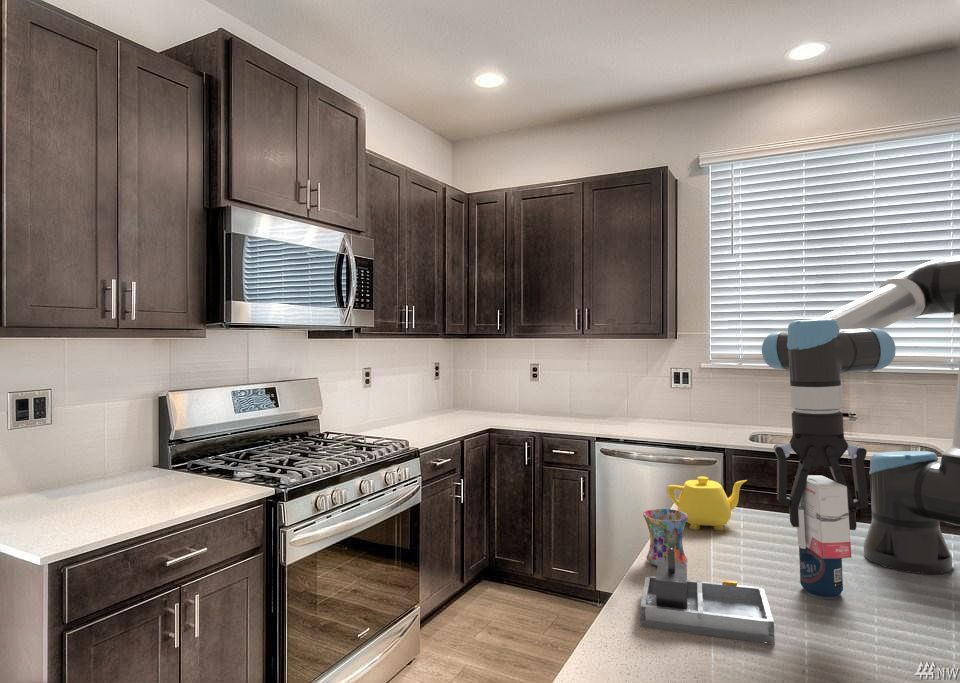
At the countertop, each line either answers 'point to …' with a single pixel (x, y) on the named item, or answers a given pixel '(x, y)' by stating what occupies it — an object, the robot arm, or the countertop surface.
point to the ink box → (826, 517)
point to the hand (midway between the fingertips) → (823, 546)
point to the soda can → (820, 574)
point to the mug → (665, 534)
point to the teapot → (705, 502)
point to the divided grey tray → (704, 605)
